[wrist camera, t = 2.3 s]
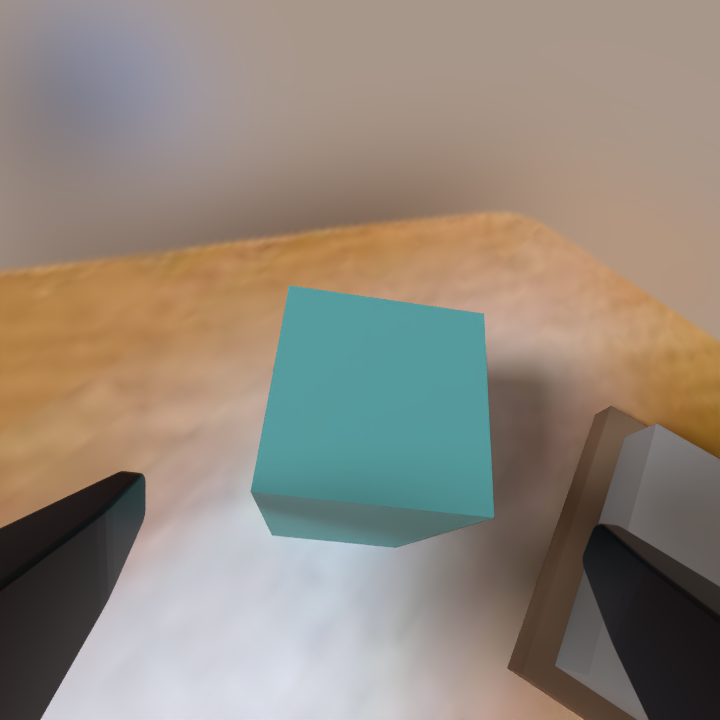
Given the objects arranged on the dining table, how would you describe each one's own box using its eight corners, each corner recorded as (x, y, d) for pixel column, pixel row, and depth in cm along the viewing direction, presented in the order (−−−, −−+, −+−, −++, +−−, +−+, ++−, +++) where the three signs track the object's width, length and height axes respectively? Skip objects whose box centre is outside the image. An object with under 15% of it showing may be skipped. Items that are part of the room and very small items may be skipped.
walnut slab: (797, 863, 16) (860, 899, 14) (499, 664, 17) (522, 674, 16) (816, 552, 21) (864, 549, 20) (586, 419, 23) (610, 405, 21)
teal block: (395, 547, 18) (494, 517, 9) (272, 535, 18) (250, 491, 9) (400, 429, 20) (483, 314, 11) (291, 415, 20) (289, 285, 11)
